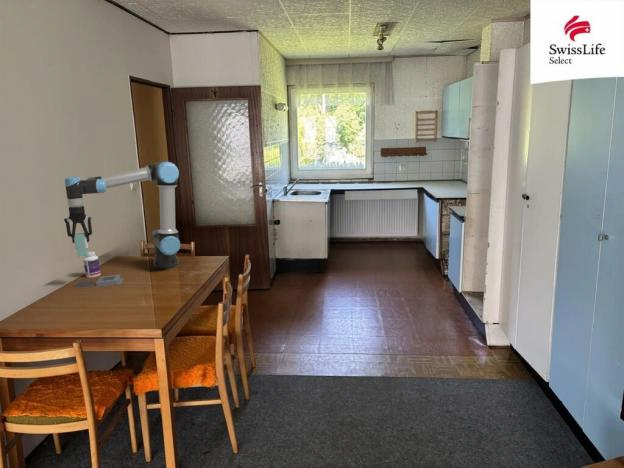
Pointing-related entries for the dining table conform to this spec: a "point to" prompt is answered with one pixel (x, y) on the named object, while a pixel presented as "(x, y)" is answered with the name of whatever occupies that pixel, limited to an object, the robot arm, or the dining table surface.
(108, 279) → the grey socket tray
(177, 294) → the dining table surface
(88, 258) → the pill bottle
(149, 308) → the dining table surface
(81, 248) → the plug
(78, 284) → the mat
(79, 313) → the dining table surface
